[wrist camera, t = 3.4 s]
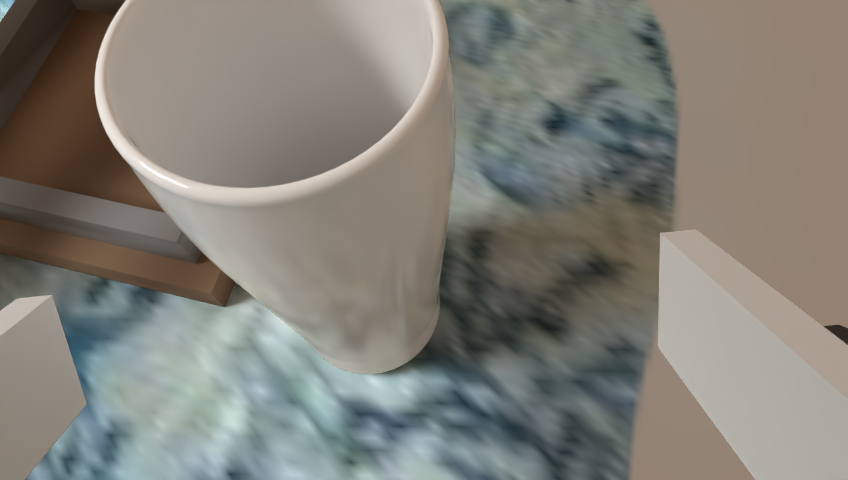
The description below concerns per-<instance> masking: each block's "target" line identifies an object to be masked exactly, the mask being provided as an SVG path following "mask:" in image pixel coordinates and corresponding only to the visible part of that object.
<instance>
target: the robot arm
mask: <svg viewBox="0 0 848 480" xmlns="http://www.w3.org/2000/svg"><path fill="white" fill-rule="evenodd" d="M658 348H659V349H660V351H661V352H662V354H663V355H664V356H665V358H666V359H667V360H668V362H669V363H670V364H671V366H672V367H673V368H674V370H675V371H676V372H677V374H678V375H679V377H680V378H681V379H682V381H683V382H684V383H685V385H686V386H687V387H688V389H689V390H690V392H691V393H692V394H693V396H694V397H695V398H696V400H697V401H698V402H699V404H700V405H701V407H702V408H703V409H704V410H705V412H706V413H707V415H708V416H709V417H710V418H711V420H712V421H713V423H714V424H715V425H716V427H717V428H718V430H719V431H720V432H721V434H722V435H723V436H724V438H725V439H726V440H727V442H728V443H729V445H730V446H731V447H732V449H733V450H734V451H735V453H736V454H737V455H738V457H739V458H740V459H741V461H742V462H743V464H744V465H745V466H746V468H747V469H748V470H749V472H750V473H751V474H752V476H753V477H754V479H755V480H848V328H845V327H843V326H840V325H832V326H822V325H821V324H820V323H818V322H817V321H816V320H814V319H813V318H812V317H810V316H809V315H808V314H806V313H805V312H804V311H802V310H801V309H800V308H798V307H797V306H796V305H795V304H793V303H792V302H791V301H789V300H788V299H787V298H786V297H784V296H783V295H782V294H780V293H779V292H777V291H776V290H775V289H774V288H772V287H771V286H770V285H769V284H767V283H766V282H764V281H763V280H762V279H760V278H759V277H758V276H757V275H755V274H754V273H753V272H752V271H750V270H749V269H748V268H746V267H745V266H744V265H742V264H741V263H740V262H738V261H737V260H735V258H733V257H732V256H731V255H729V254H728V253H727V252H725V251H724V250H723V249H721V248H720V247H719V246H717V245H716V244H715V243H714V242H712V241H711V240H710V239H708V238H707V237H706V236H704V235H703V234H702V233H700V232H699V231H698V230H697V229H693V230H683V231H672V232H663V233H660V262H659V314H658ZM86 404H87V403H86V400H85V397H84V394H83V391H82V388H81V385H80V381H79V378H78V375H77V372H76V369H75V366H74V362H73V359H72V356H71V353H70V350H69V347H68V343H67V340H66V337H65V334H64V331H63V328H62V325H61V321H60V318H59V315H58V312H57V309H56V306H55V302H54V299H53V296H52V295H46V296H36V297H26V298H17V299H16V300H14V301H13V302H12V303H10V304H9V305H7V306H6V307H5V308H3V309H2V310H1V311H0V480H25V479H26V477H27V476H28V475H29V474H30V473H31V471H32V470H33V469H34V468H35V467H36V465H37V464H38V463H39V462H40V460H41V459H42V458H43V457H44V456H45V454H46V453H47V452H48V451H49V449H50V448H51V447H52V446H53V445H54V443H55V442H56V441H57V440H58V438H59V437H60V436H61V435H62V434H63V432H64V431H65V430H66V429H67V428H68V426H69V425H70V424H71V423H72V421H73V420H74V419H75V418H76V417H77V415H78V414H79V413H80V412H81V410H82V409H83V408H84V407H85V406H86Z"/></svg>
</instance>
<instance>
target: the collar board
mask: <svg viewBox="0 0 848 480" xmlns="http://www.w3.org/2000/svg"><path fill="white" fill-rule="evenodd" d="M125 1H126V0H15V2H14V3H13V5H12V6H11V8H10V9H9V10H8V12H7V13H6V15H5V16H4V18H3V19H2V21H1V22H0V253H3V254H7V255H12V256H16V257H20V258H24V259H28V260H32V261H36V262H40V263H45V264H49V265H53V266H57V267H61V268H65V269H69V270H74V271H78V272H82V273H86V274H90V275H94V276H98V277H102V278H107V279H111V280H115V281H119V282H123V283H127V284H131V285H135V286H140V287H144V288H148V289H152V290H156V291H160V292H164V293H168V294H173V295H177V296H181V297H185V298H189V299H193V300H197V301H201V302H206V303H210V304H214V305H218V306H222V307H224V306H225V304H226V301H227V299H228V297H229V294H230V292H231V289H232V287H233V284H234V281H233V280H232V279H231V278H229V277H228V276H227V275H226V274H225V273H223V272H222V271H221V270H220V269H219V268H218V267H217V266H216V265H215V264H213V263H212V262H211V261H210V260H209V259H208V258H207V257H206V256H205V255H204V254H203V253H202V252H201V251H200V250H199V249H198V248H197V247H196V246H195V245H194V244H193V243H192V242H191V241H190V240H189V239H188V238H187V237H186V236H185V235H184V233H183V232H182V231H181V230H180V229H179V228H178V227H177V226H176V225H175V223H174V222H173V221H172V220H171V219H170V218H169V216H168V215H167V214H166V213H165V211H164V210H163V209H162V208H161V207H160V205H159V204H158V203H157V202H156V200H155V199H154V198H153V197H152V195H151V194H150V193H149V192H148V190H147V189H146V188H145V186H144V185H143V184H142V182H141V181H140V180H139V178H138V177H137V176H136V174H135V173H134V172H133V170H132V169H131V168H130V166H129V165H128V164H127V162H126V161H125V160H124V158H123V157H122V156H121V155H120V153H119V152H118V151H117V150H116V148H115V147H114V145H113V144H112V142H111V140H110V139H109V137H108V135H107V134H106V131H105V129H104V127H103V124H102V122H101V119H100V116H99V112H98V109H97V104H96V98H95V69H96V62H97V58H98V53H99V50H100V47H101V44H102V41H103V38H104V36H105V34H106V32H107V29H108V27H109V25H110V23H111V22H112V20H113V18H114V17H115V15H116V13H117V12H118V10H119V9H120V7H121V6H122V5H123V3H124V2H125Z"/></svg>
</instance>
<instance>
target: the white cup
mask: <svg viewBox="0 0 848 480" xmlns="http://www.w3.org/2000/svg"><path fill="white" fill-rule="evenodd" d="M95 98H96V104H97V109H98V112H99V116H100V119H101V122H102V124H103V127H104V129H105V131H106V134H107V135H108V137H109V139H110V140H111V142H112V144H113V145H114V147H115V148H116V150H117V151H118V152H119V153H120V155H121V156H122V157H123V158H124V160H125V161H126V162H127V164H128V165H129V166H130V168H131V169H132V170H133V172H134V173H135V174H136V176H137V177H138V178H139V180H140V181H141V182H142V184H143V185H144V186H145V188H146V189H147V190H148V192H149V193H150V194H151V195H152V197H153V198H154V199H155V200H156V202H157V203H158V204H159V205H160V207H161V208H162V209H163V210H164V211H165V213H166V214H167V215H168V216H169V218H170V219H171V220H172V221H173V222H174V223H175V225H176V226H177V227H178V228H179V229H180V230H181V231H182V232H183V233H184V235H185V236H186V237H187V238H188V239H189V240H190V241H191V242H192V243H193V244H194V245H195V246H196V247H197V248H198V249H199V250H200V251H201V252H202V253H203V254H204V255H205V256H206V257H207V258H208V259H209V260H210V261H211V262H212V263H213V264H215V265H216V266H217V267H218V268H219V269H220V270H221V271H222V272H223V273H225V274H226V275H227V276H228V277H229V278H231V279H232V280H233V281H234V282H235V283H237V284H238V285H239V286H240V287H242V288H243V289H244V290H245V291H247V292H248V293H249V294H250V295H252V296H253V297H254V298H255V299H257V300H258V301H259V302H260V303H262V304H263V305H264V306H265V307H266V308H268V309H269V310H270V311H271V312H273V313H274V314H275V315H276V316H278V317H279V318H280V319H281V320H282V321H284V322H285V323H286V324H287V325H288V326H290V327H291V328H292V329H293V330H295V331H296V332H297V333H298V334H299V335H300V336H302V337H303V338H304V339H305V340H306V341H307V342H308V343H309V344H310V345H311V347H312V348H313V349H314V350H315V352H316V353H317V354H318V355H319V356H321V357H322V358H323V359H324V360H325V361H327V362H328V363H330V364H331V365H333V366H335V367H337V368H339V369H342V370H344V371H347V372H351V373H357V374H378V373H383V372H387V371H390V370H393V369H396V368H398V367H400V366H402V365H404V364H405V363H407V362H409V361H410V360H411V359H413V358H414V357H415V356H416V355H417V354H419V352H420V351H421V350H422V349H423V348H424V347H425V346H426V344H427V343H428V341H429V340H430V338H431V336H432V334H433V332H434V330H435V328H436V325H437V322H438V318H439V312H440V292H439V287H440V279H441V270H442V263H443V255H444V248H445V240H446V233H447V226H448V219H449V212H450V205H451V198H452V190H453V181H454V167H455V107H454V92H453V79H452V69H451V60H450V51H449V39H448V29H447V24H446V19H445V16H444V13H443V10H442V7H441V4H440V2H439V0H126V1H125V2H124V3H123V5H122V6H121V7H120V9H119V10H118V12H117V13H116V15H115V17H114V18H113V20H112V22H111V23H110V25H109V27H108V29H107V32H106V34H105V36H104V38H103V41H102V44H101V47H100V50H99V53H98V58H97V62H96V69H95Z"/></svg>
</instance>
